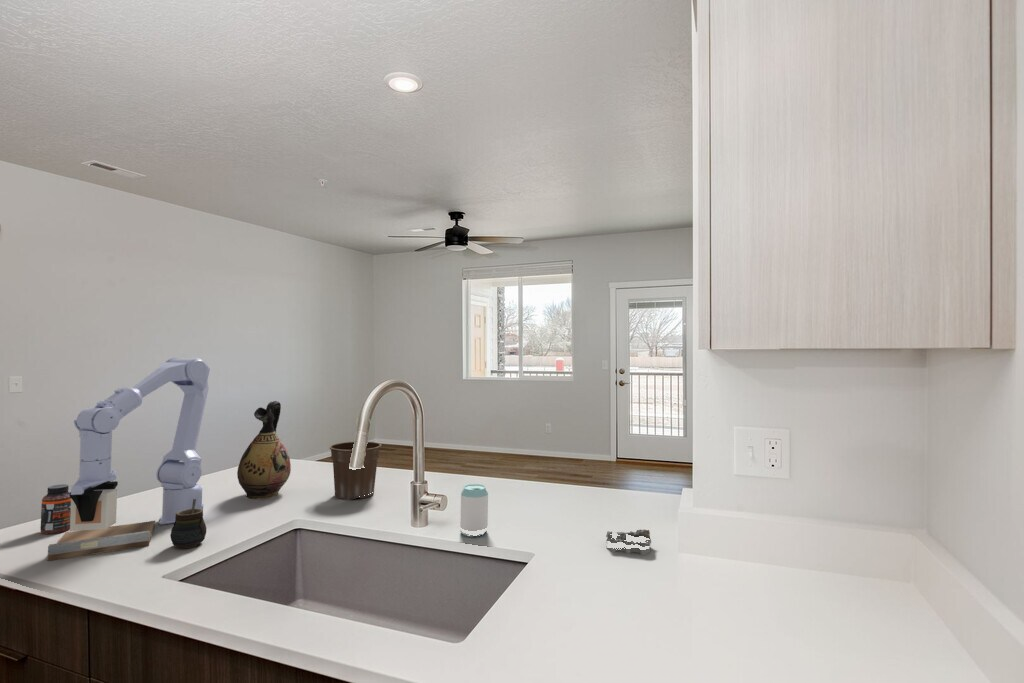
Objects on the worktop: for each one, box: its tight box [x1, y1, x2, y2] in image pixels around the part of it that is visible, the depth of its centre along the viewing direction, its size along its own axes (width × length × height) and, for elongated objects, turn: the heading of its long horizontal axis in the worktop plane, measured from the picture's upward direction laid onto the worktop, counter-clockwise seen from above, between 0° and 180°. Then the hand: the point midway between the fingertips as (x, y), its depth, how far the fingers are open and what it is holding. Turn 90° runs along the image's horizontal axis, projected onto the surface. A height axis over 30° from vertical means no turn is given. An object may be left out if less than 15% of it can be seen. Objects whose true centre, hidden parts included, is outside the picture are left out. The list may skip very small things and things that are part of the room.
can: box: [459, 483, 489, 538], centre depth 131 cm, size 7×7×12 cm
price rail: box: [47, 531, 150, 556], centre depth 115 cm, size 18×1×2 cm, turn 121°
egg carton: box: [605, 529, 652, 556], centre depth 122 cm, size 11×8×4 cm
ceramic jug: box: [236, 400, 292, 500], centre depth 163 cm, size 17×15×30 cm
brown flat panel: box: [47, 520, 156, 562], centre depth 122 cm, size 18×16×1 cm
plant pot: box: [329, 441, 382, 501], centre depth 164 cm, size 16×16×16 cm
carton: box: [69, 488, 118, 532], centre depth 118 cm, size 5×7×8 cm, turn 104°
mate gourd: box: [169, 499, 207, 550], centre depth 120 cm, size 7×8×10 cm
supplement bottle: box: [39, 483, 71, 535], centre depth 128 cm, size 6×6×11 cm
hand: (93, 517), depth 118 cm, fingers closed on carton, 4 cm apart
